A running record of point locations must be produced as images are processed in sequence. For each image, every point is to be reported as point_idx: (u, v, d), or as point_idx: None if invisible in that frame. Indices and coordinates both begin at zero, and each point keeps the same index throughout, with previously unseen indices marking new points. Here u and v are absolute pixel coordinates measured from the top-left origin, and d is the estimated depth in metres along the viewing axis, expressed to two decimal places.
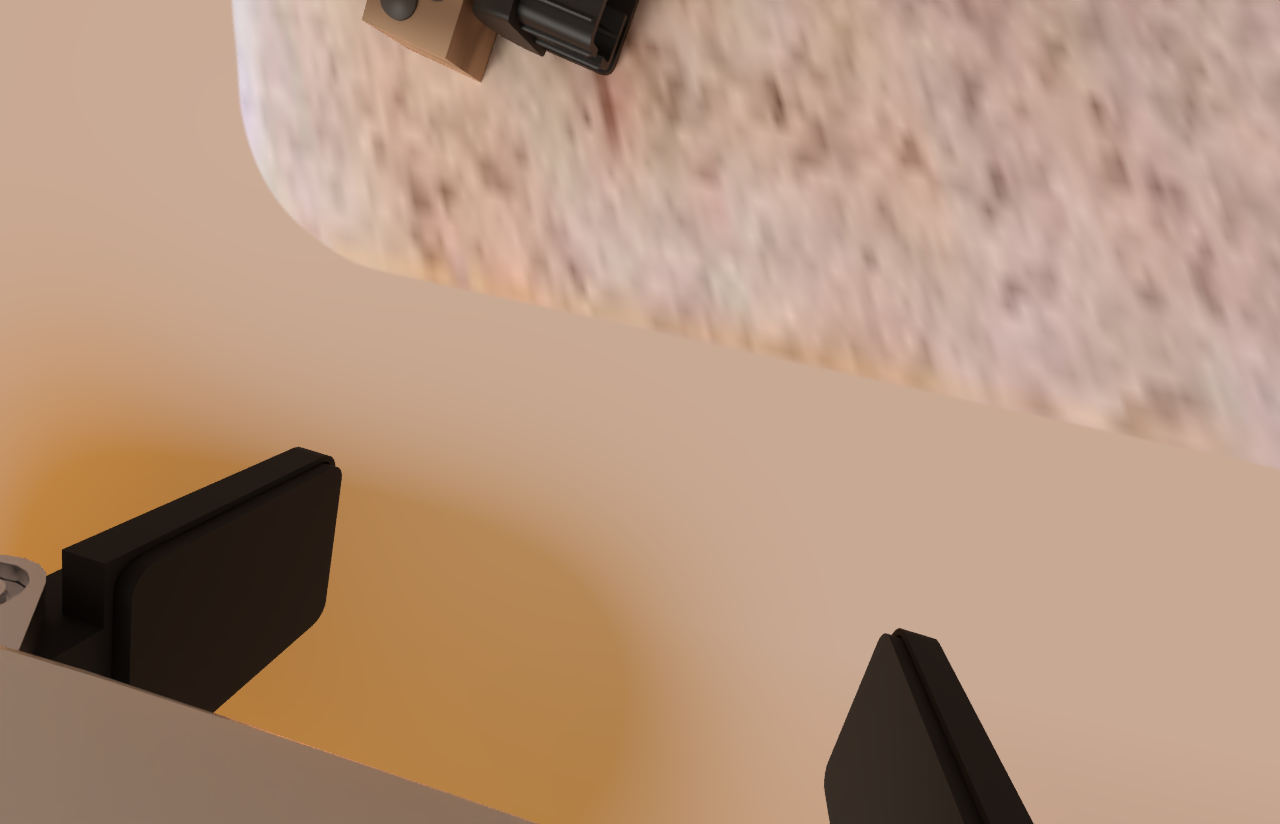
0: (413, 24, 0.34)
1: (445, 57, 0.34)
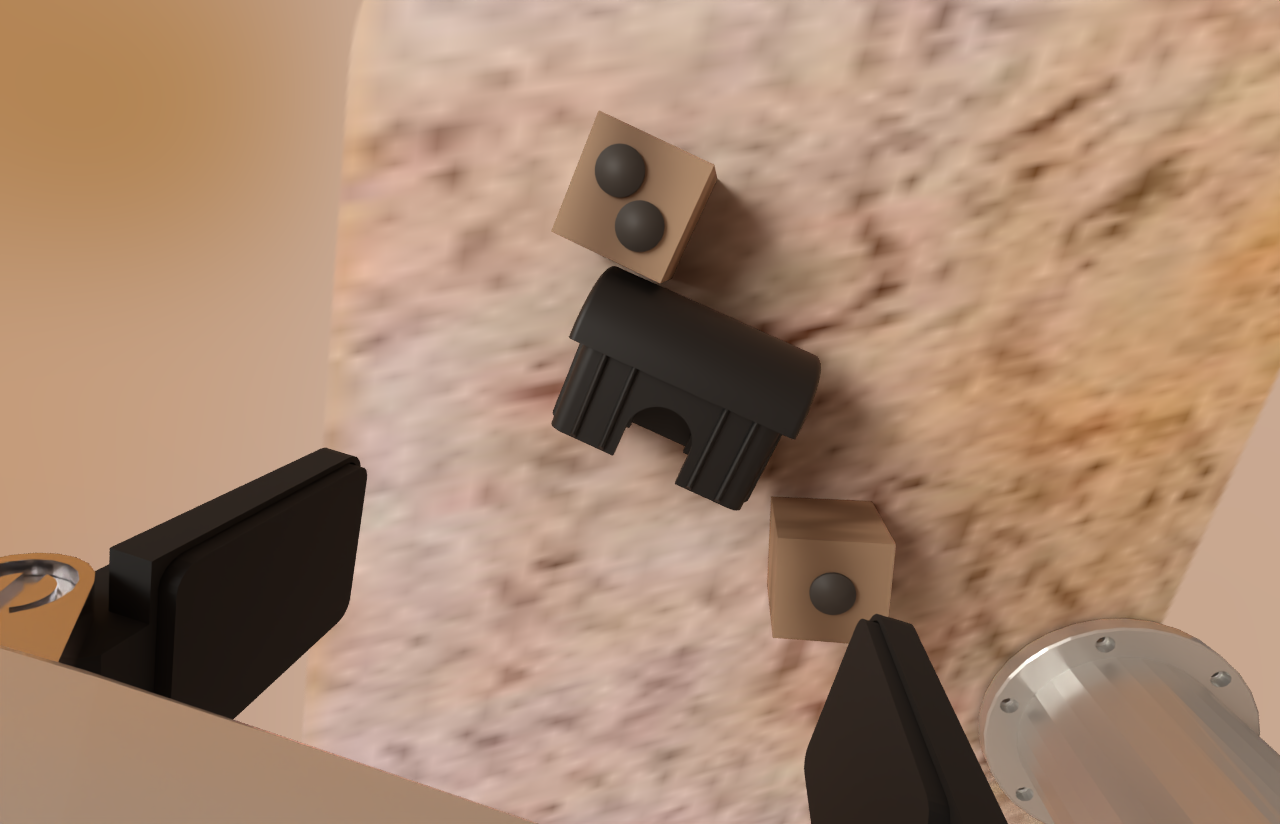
0: (590, 188, 0.26)
1: (553, 231, 0.26)
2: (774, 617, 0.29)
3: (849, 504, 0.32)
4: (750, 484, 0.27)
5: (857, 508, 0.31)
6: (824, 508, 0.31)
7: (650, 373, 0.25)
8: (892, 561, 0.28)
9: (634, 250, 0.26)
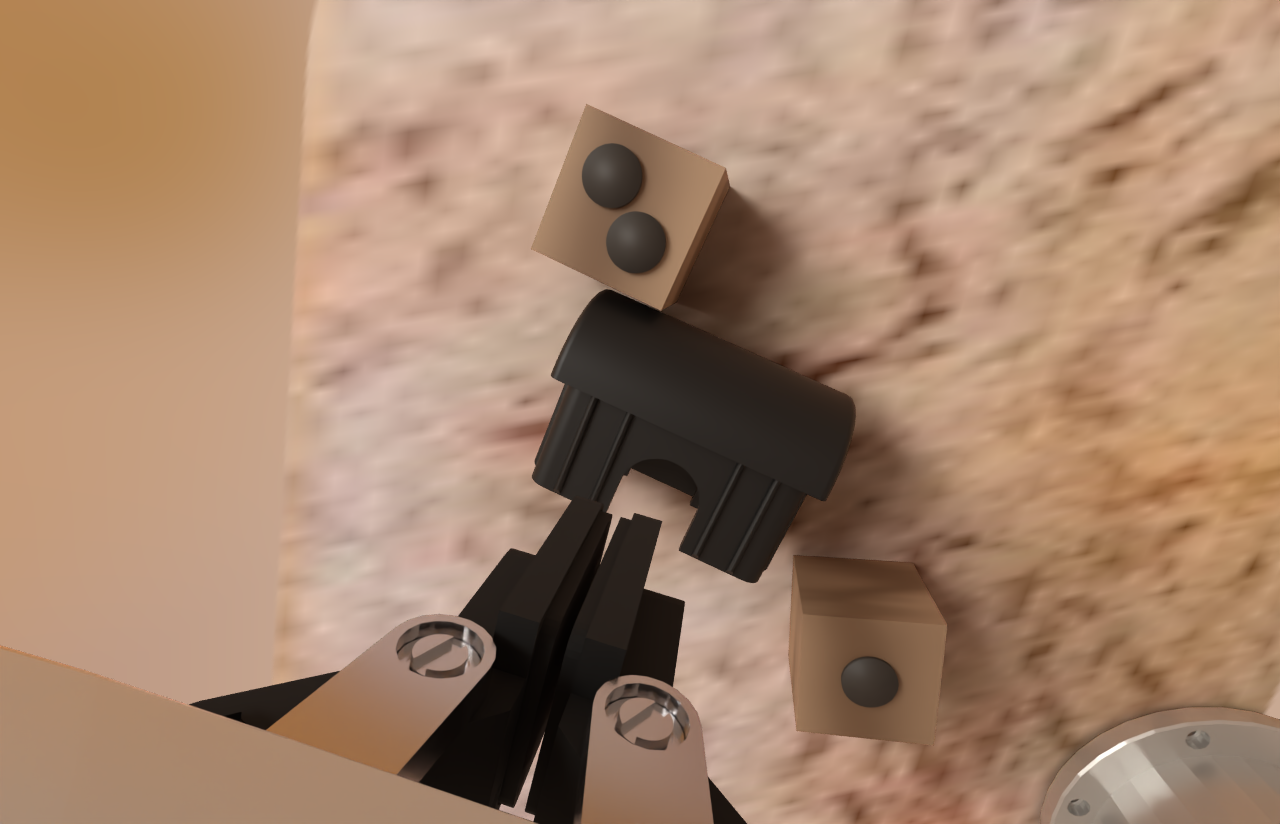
0: (577, 197, 0.21)
1: (533, 248, 0.22)
2: (798, 707, 0.24)
3: (887, 567, 0.27)
4: (770, 552, 0.22)
5: (896, 572, 0.26)
6: (857, 572, 0.26)
7: (648, 420, 0.21)
8: (943, 645, 0.23)
9: (629, 271, 0.21)
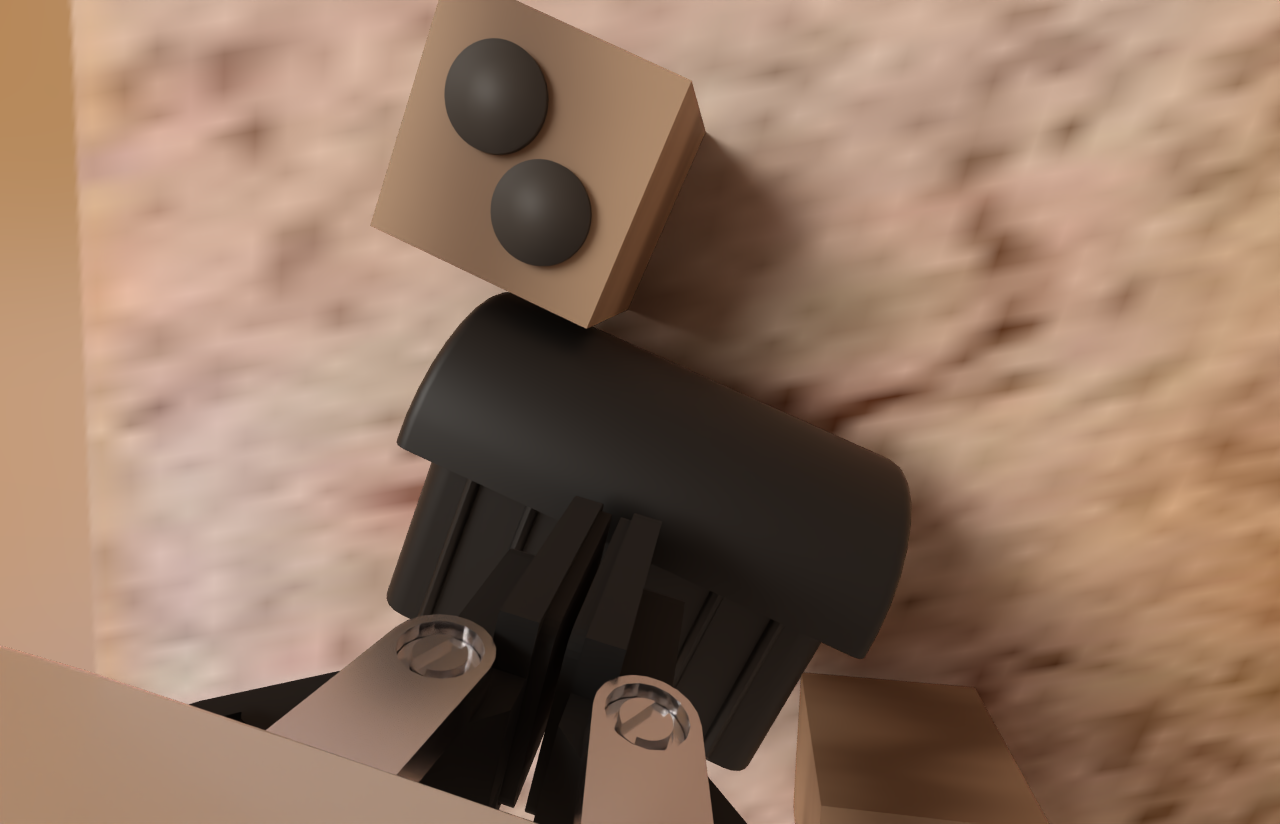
0: (441, 137, 0.12)
1: (375, 225, 0.13)
2: None
3: (938, 697, 0.18)
4: (769, 724, 0.13)
5: (954, 708, 0.18)
6: (897, 708, 0.18)
7: None
8: None
9: (532, 263, 0.13)
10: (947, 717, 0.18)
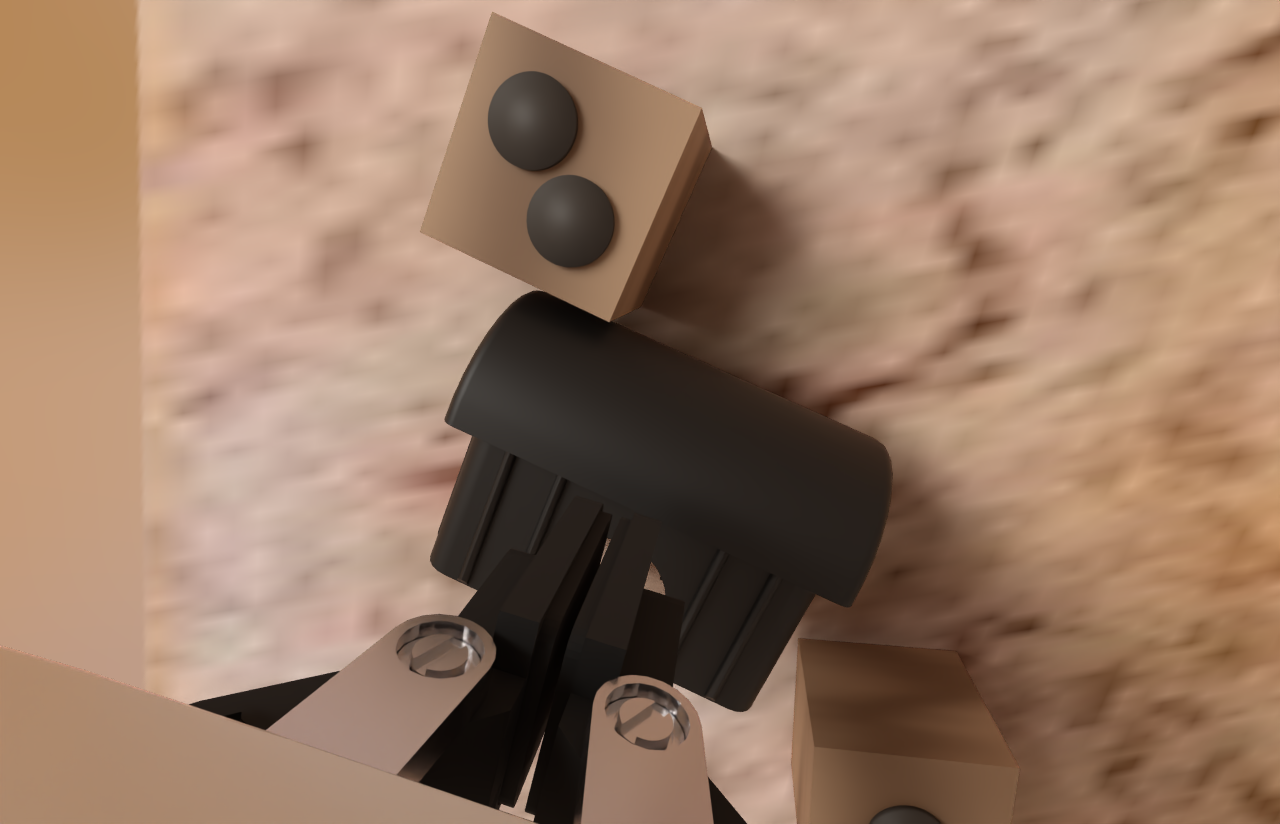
0: (484, 155, 0.14)
1: (424, 231, 0.15)
2: None
3: (922, 659, 0.20)
4: (768, 670, 0.15)
5: (936, 668, 0.20)
6: (885, 668, 0.20)
7: (588, 486, 0.14)
8: (1012, 794, 0.16)
9: (562, 264, 0.15)
10: (930, 676, 0.19)
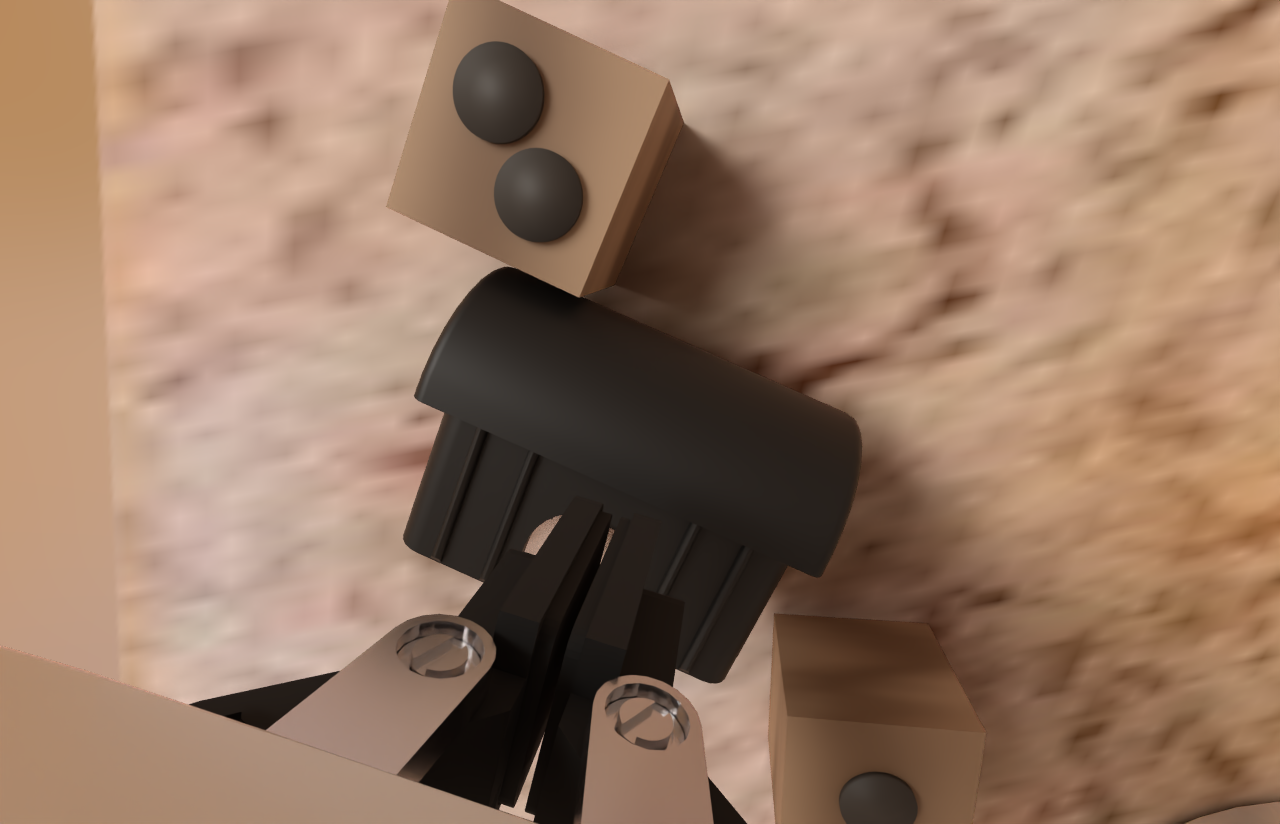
0: (449, 128, 0.14)
1: (390, 206, 0.15)
2: None
3: (895, 631, 0.21)
4: (741, 641, 0.15)
5: (908, 640, 0.20)
6: (858, 641, 0.20)
7: (559, 460, 0.14)
8: (979, 758, 0.16)
9: (530, 239, 0.14)
10: (902, 647, 0.20)
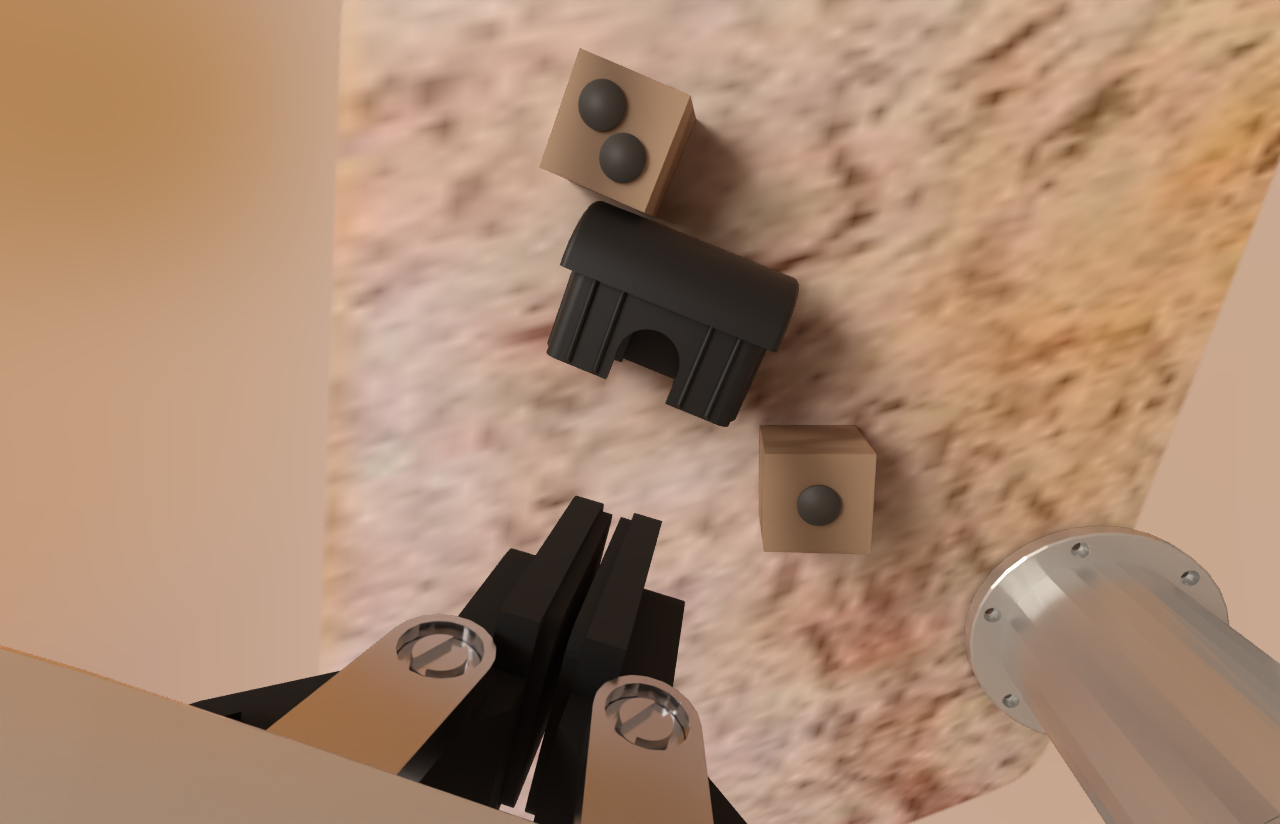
0: (575, 124, 0.27)
1: (541, 167, 0.28)
2: (764, 531, 0.31)
3: (834, 428, 0.33)
4: (736, 400, 0.28)
5: (841, 430, 0.33)
6: (810, 432, 0.33)
7: (637, 295, 0.27)
8: (873, 471, 0.29)
9: (618, 181, 0.27)
10: (836, 432, 0.32)
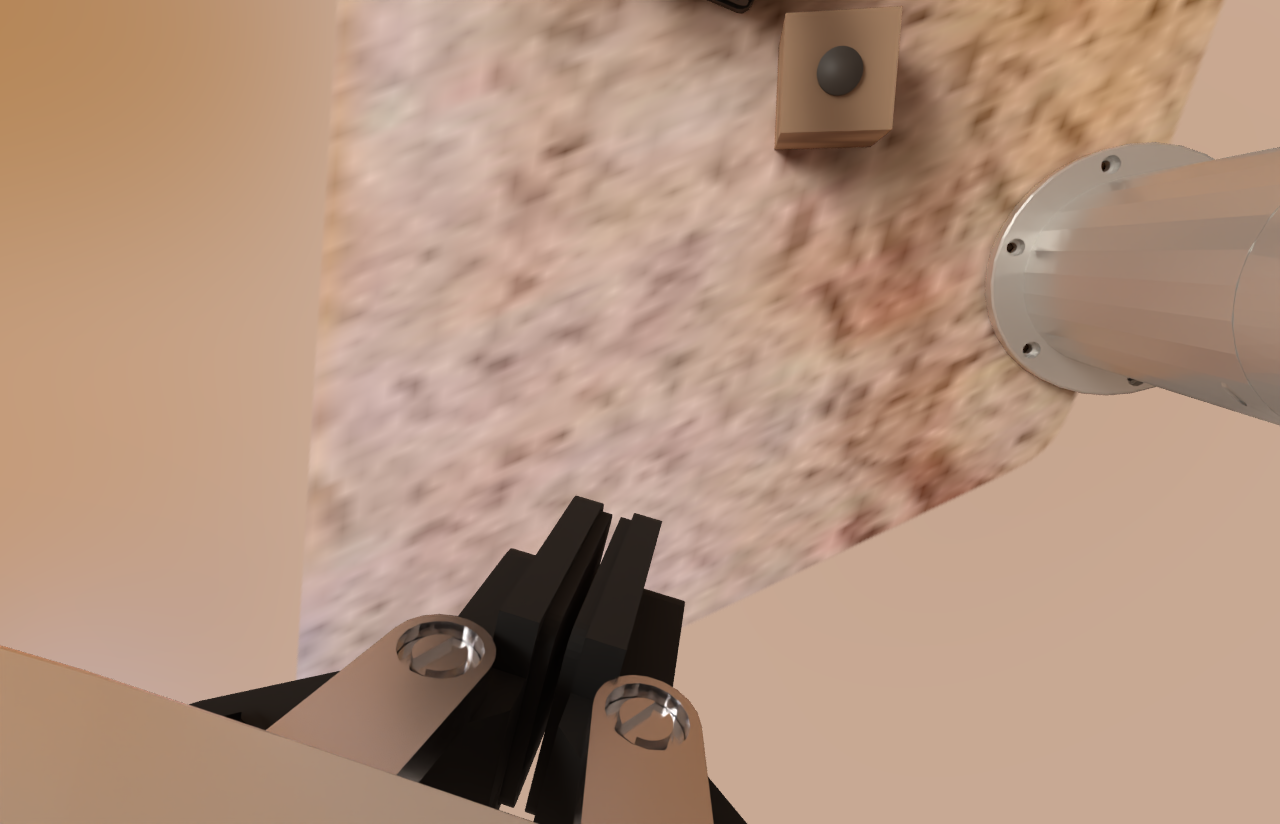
0: None
1: None
2: (782, 109, 0.29)
3: None
4: None
5: None
6: None
7: None
8: (899, 27, 0.28)
9: None
10: None
